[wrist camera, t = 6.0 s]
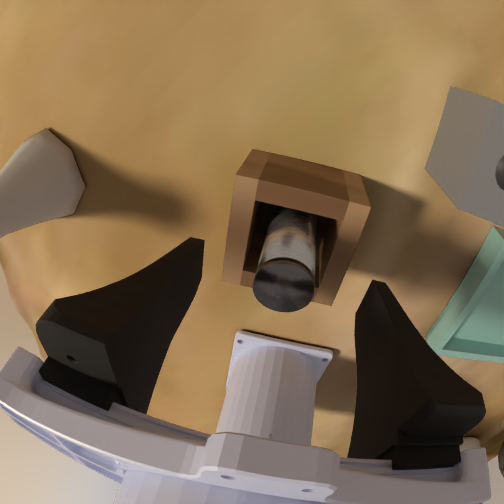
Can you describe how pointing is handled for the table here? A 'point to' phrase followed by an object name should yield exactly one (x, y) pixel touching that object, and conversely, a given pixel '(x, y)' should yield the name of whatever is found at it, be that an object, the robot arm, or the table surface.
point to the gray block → (471, 154)
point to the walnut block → (299, 198)
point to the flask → (38, 183)
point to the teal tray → (475, 309)
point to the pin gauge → (287, 261)
